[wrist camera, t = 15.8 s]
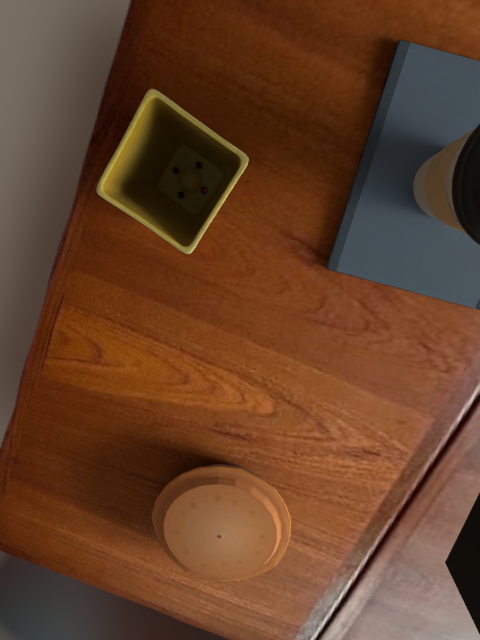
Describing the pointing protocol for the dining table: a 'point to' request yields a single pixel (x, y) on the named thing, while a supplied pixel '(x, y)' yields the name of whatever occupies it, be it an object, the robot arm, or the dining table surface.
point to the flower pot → (171, 172)
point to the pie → (221, 523)
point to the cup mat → (398, 176)
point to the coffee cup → (453, 185)
